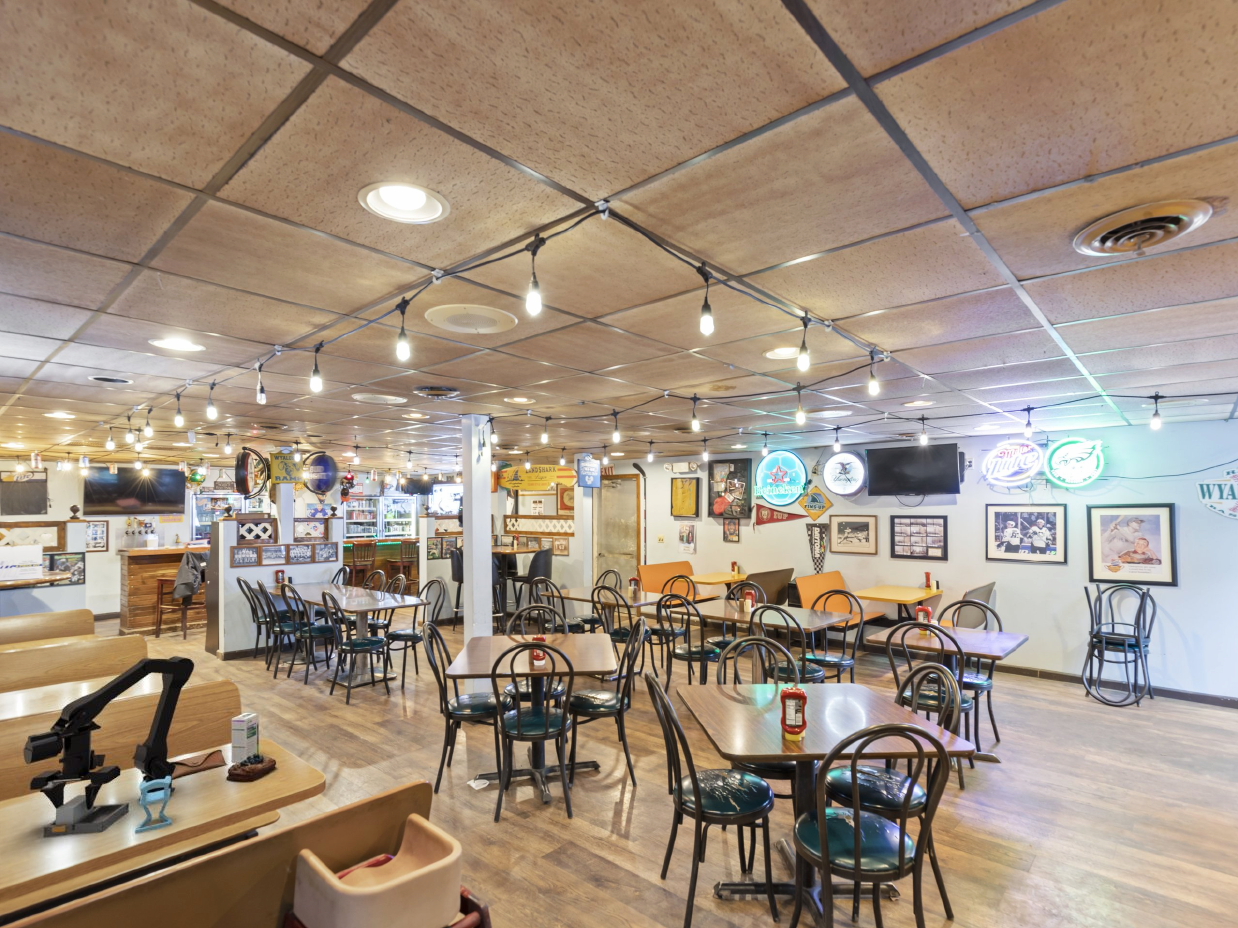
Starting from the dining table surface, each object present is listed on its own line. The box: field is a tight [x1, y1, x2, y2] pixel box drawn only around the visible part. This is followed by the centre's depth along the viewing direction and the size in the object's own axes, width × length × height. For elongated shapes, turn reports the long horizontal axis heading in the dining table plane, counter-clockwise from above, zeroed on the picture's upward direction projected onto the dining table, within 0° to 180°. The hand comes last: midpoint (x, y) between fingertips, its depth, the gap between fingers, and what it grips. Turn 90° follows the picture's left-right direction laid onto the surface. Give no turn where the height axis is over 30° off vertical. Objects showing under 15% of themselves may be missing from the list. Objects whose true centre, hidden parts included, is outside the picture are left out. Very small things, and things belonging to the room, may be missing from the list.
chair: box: [134, 776, 173, 834], centre depth 168 cm, size 8×8×12 cm
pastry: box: [225, 754, 277, 783], centre depth 198 cm, size 11×12×6 cm
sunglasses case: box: [169, 749, 229, 781], centre depth 203 cm, size 18×7×7 cm
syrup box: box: [231, 712, 260, 764], centre depth 210 cm, size 6×6×14 cm
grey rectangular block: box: [55, 794, 95, 825], centre depth 168 cm, size 4×8×5 cm, turn 8°
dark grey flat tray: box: [43, 802, 130, 838], centre depth 168 cm, size 14×11×2 cm
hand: (75, 810), depth 168 cm, fingers open, 7 cm apart
